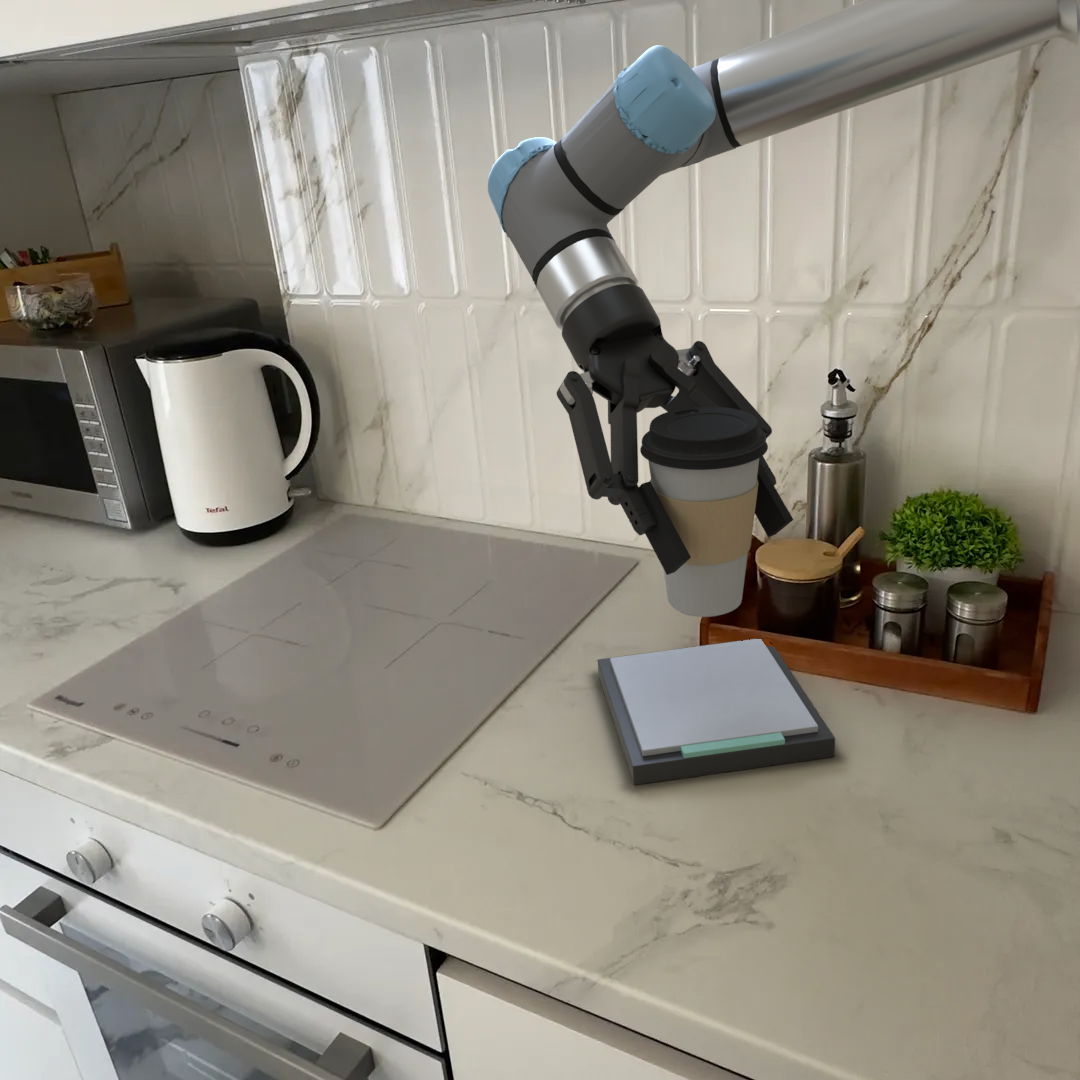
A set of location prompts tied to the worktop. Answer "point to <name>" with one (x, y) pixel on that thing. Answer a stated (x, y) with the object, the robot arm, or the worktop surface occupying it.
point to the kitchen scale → (710, 711)
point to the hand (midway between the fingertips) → (731, 546)
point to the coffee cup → (707, 500)
